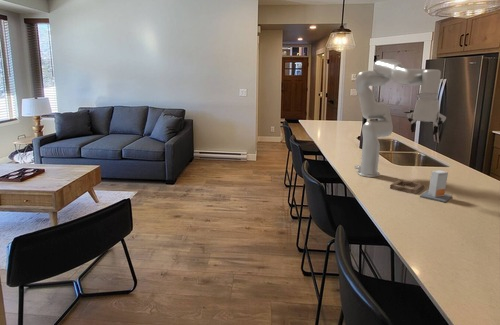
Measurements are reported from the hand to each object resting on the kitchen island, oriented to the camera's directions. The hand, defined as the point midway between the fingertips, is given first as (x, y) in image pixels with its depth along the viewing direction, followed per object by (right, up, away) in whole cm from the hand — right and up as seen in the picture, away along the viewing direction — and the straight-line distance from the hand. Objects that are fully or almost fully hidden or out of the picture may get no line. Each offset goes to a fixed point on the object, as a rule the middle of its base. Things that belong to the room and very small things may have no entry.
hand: (423, 133), depth 168 cm
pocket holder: (-1, -27, +15) cm, 31 cm away
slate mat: (+7, -31, +2) cm, 32 cm away
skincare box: (+7, -30, +2) cm, 31 cm away
